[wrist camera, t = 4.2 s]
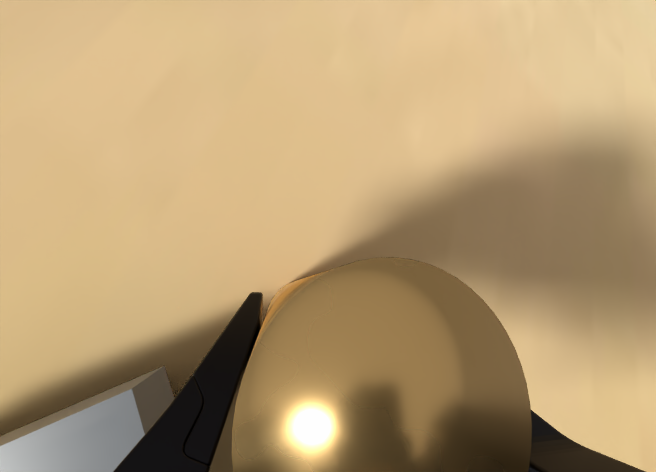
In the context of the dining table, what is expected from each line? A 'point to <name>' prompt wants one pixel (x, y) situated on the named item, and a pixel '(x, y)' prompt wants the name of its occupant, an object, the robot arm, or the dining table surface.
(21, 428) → the gray rectangular tray
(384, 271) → the gold cylinder
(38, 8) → the dining table surface
